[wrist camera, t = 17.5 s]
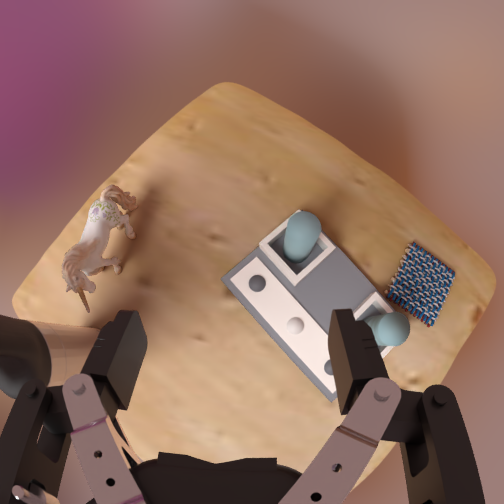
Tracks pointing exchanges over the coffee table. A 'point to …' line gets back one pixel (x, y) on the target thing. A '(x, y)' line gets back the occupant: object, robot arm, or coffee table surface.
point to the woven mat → (421, 284)
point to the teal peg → (389, 328)
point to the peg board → (303, 293)
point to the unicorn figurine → (97, 241)
